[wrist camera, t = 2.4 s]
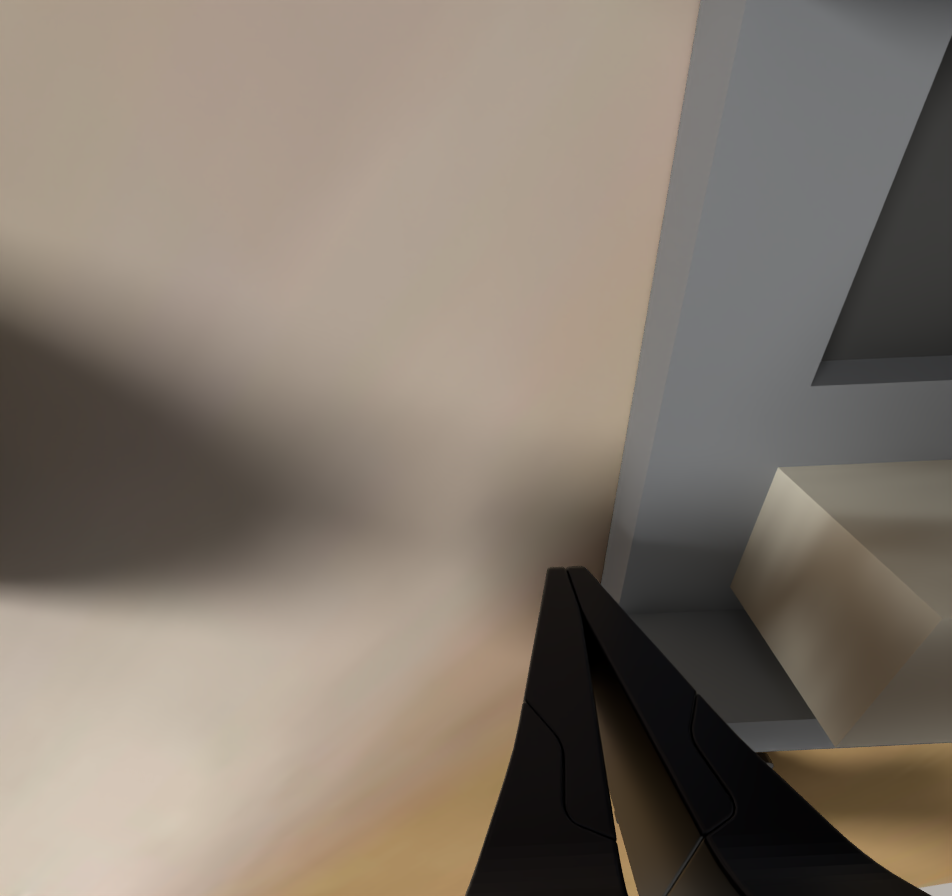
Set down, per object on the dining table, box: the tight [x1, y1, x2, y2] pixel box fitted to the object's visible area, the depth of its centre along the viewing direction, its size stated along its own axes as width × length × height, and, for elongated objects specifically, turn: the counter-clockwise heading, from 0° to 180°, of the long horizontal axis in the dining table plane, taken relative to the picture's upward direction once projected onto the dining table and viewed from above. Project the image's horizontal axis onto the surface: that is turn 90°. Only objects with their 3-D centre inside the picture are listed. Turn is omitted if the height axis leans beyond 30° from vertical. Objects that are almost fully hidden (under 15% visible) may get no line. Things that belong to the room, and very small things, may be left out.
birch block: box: [730, 460, 952, 748], centre depth 9 cm, size 4×4×4 cm
